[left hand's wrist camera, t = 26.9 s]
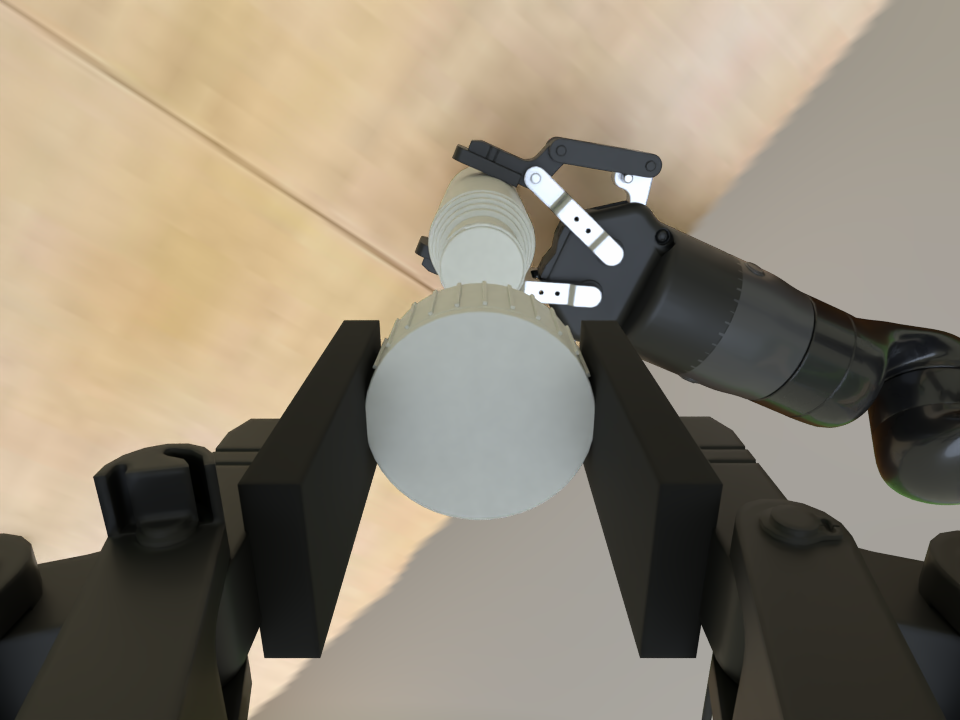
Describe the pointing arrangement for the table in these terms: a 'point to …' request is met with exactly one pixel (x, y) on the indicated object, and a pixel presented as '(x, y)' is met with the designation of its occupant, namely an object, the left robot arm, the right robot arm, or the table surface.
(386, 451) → the cap
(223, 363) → the table surface
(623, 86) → the table surface
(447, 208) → the bottle
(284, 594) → the left robot arm
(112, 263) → the table surface
